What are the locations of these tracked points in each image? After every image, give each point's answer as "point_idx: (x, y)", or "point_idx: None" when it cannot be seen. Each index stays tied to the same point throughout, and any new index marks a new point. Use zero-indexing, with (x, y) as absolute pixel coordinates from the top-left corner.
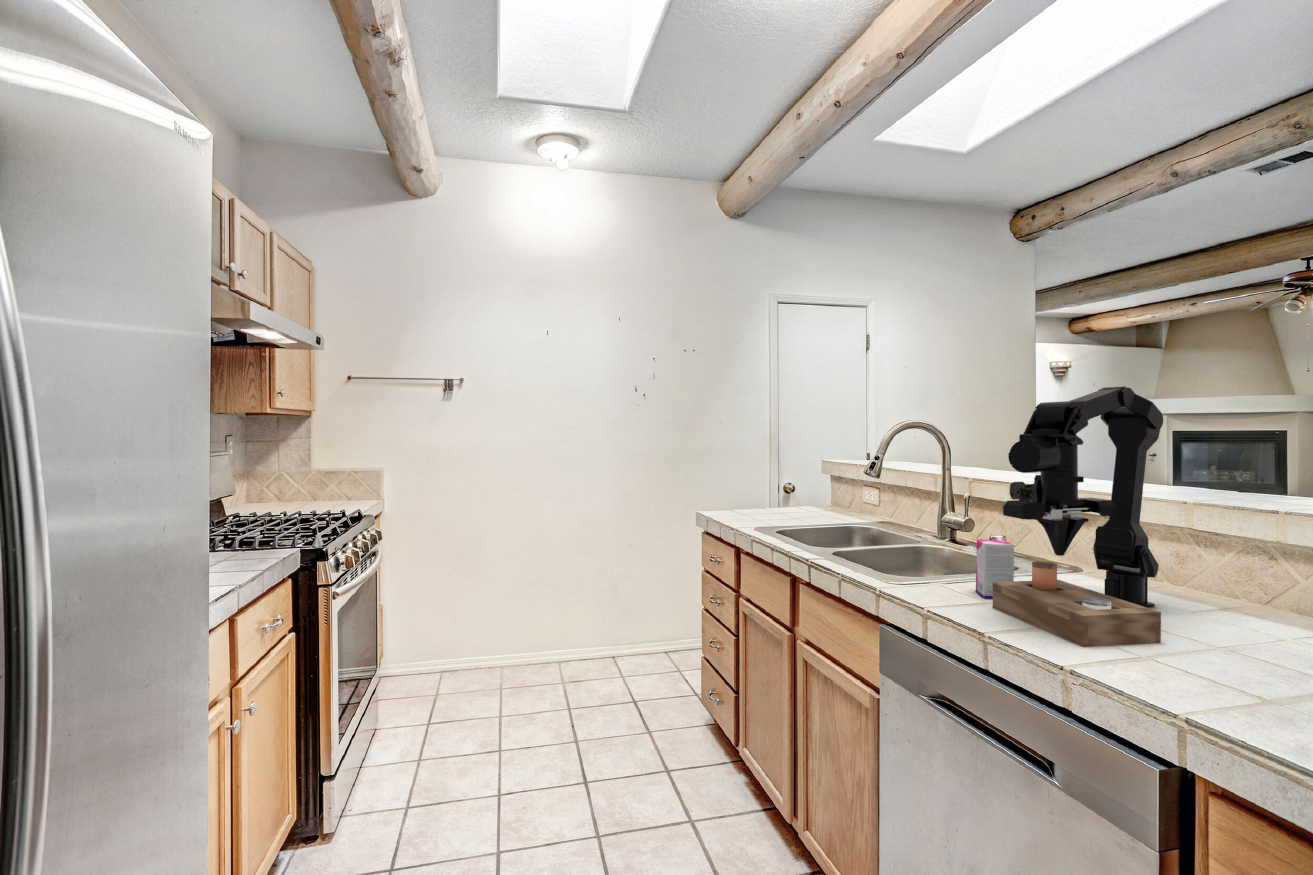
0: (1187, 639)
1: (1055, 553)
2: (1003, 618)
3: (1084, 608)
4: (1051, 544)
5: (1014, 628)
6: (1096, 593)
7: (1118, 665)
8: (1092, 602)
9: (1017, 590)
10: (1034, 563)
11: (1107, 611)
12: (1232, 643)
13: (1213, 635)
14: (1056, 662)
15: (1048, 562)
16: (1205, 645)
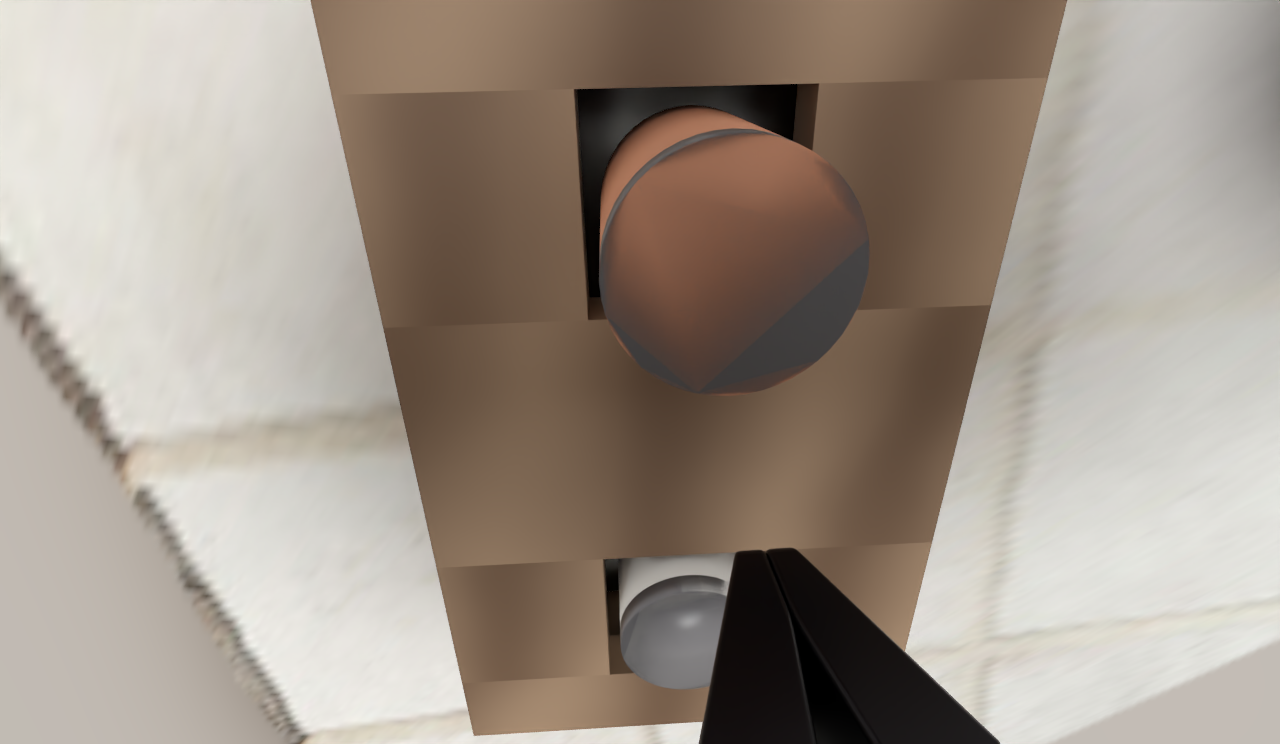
0: (979, 573)
1: (734, 565)
2: (345, 237)
3: (571, 655)
4: (718, 649)
5: (325, 405)
6: (926, 413)
7: (497, 736)
8: (631, 666)
9: (396, 281)
10: (616, 255)
11: (647, 696)
12: (1085, 613)
13: (1134, 544)
14: (304, 715)
15: (841, 217)
16: (967, 623)
